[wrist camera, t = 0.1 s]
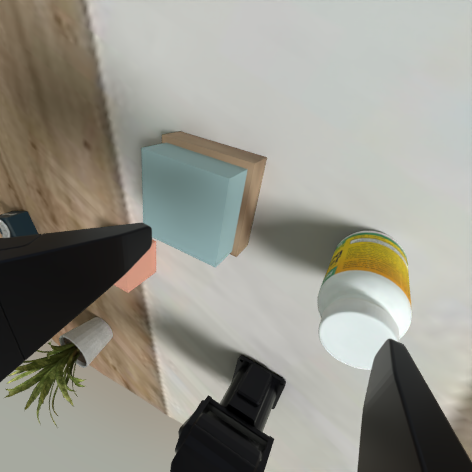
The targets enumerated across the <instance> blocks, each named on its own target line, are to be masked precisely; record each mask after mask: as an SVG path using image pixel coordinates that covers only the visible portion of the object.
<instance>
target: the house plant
mask: <svg viewBox="0 0 472 472" xmlns="http://www.w3.org/2000/svg"><path fill="white" fill-rule="evenodd" d="M112 337H113V333H112V330H111V328H110V327H109V325H108V324H107V323H106V322H105V321H104V320H103V319H101V318H99V317H95V318H93V319H91V320H89V321H87V322H85V323H84V324H82V325H80V326H78V327H76V328H74V329H73V330H71V331H69V332H67V333H65V334H63V335H61V336H60V338H59V341H60V344H61V346H53V345H51V343H48V344H49V345H51V347H52V349H53V351H50V352H49V351H45V352H44V351H39V350H37V351H38V352H42V353H43V352H44V353H48V354H47V357H44V358H41V359H36V360H32V361H24V362H23V363H29V362H32V363H30V364H27V365H23V366H19V367H17V368H16V369H15V370H18V371H16V372H14V373H12V374H10V375H14V374H18V373H21V372H24V371H28V372H25V373H23V374H21V375H18V376H17V377H15V378H13V379H12V380H10V381H9V382H8V383H10V382H13V381H16V380H18V379H20V378H22V377H24V376H27V375H28V374H31V373H33V372H35V371H37V370H40V369H41V368H44V369H42V370H41V371H40V372H39V373H37V374H36V375H35V376H33V377H32V378H30V379H29V380H27V381H25V382H24V383H22V384H20V385H18V386H16V387H15V388H14V389H6V390H8V391H10V392H9V395H8V396H6V397H10V396H13V395H15V394H17V393H19V392H22V391H24V390H26V389H28V388H30V387H31V386H33V385H34V384H36V383H37V382H39V381H40V382H39V383H38V384H37V386H36V387H35V389H34V390H33V392H32V394H31V396H30V398H29V400H28V402H27V404H26V407H25V410H26V409H27V408H28V407H29V406H30V405H31V403H32V402H33V401H34V400H35V399H36V397H37V396H38V395H39V393H40V392H41V394H40V397H39V404H38V407H37V418H38V414H39V409H40V406H41V404H42V403H43V402H44V399H45V397H46V396H47V395H48V393H49V390H50V388H51V386H52V384H53V382H55V380H56V381H57V384H58V386H59V388H60V390H61V392H62V394H63V397H65V398H66V399H67V400H68V401H69V402H70V403H71V404H72V405H73V403H72V400H71V398H70V397H69V395H68V392H67V390H69V391H74V390H71V389H69V388H68V386H67V383H68V381H69V378H70V379H71V380H72V383H73V382H74V383H75V385H77V386H79V387H84V386H83V385H80V384H79V382H82V381H84V380H82V379H78V378H75V377H74V372H73V377H72V368H73V365H74V363H75V365H76V364H78V365H79V366H81V367H83V368H85V367H87V366H88V365H89V364H90V363H91V361H92V360H93V359H94V358H95V357H96V356H97V355H98V353H99V352H100V351H101V350H102V349H103V348H104V347H105V345H106V344H107V343H108V342H109V341H110V340H111V338H112ZM59 352H60V353H59ZM53 354H54V355H53ZM50 355H51V356H50ZM66 364H67V366H66V368H65V370H64V372H63V369H64V367H65V365H66ZM69 367H70V368H69ZM74 370H75V366H74ZM64 373H65V374H64ZM66 373H67V377H66ZM10 375H8V376H10ZM63 375H64V377H63ZM70 375H71V376H70ZM65 378H66V380H65ZM53 385H54V384H53ZM58 386H57V388H56V390H55V393H54V396H53V400H52V408H53V410H54V407H53V405H54V398H55V394H56V392H57V389H58ZM52 388H53V386H52ZM51 392H52V390H51ZM76 396H77V395H76ZM50 397H51V393H50ZM49 402H50V400H49ZM49 404H50V403H49ZM49 409H50V405H49ZM54 412H55V411H54ZM55 414H56V413H55ZM50 415H51V414H50ZM56 415H57V414H56ZM57 416H58V415H57ZM51 417H52V416H51ZM38 420H39V418H38ZM52 420H53V418H52ZM53 422H54V421H53ZM54 423H55V422H54ZM55 425H56V424H55Z"/></svg>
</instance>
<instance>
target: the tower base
mask: <svg viewBox="0 0 472 472" xmlns="http://www.w3.org/2000/svg"><path fill="white" fill-rule="evenodd" d="M162 143H170V144H173V145H176V146H179V147H182V148H185V149H188V150H191V151H194V152H197V153H200V154H203V155H206V156H209V157H212V158H215V159H218V160H221V161H224V162H227V163H230V164H233V165H236V166H239V167H242V168H245V169H248V170H247V176H246V181H245V186H244V191H243V197H242V202H241V207H240V212H239V218H238V223H237V228H236V233H235V238H234V244H233V249H232V252H231V253H230V254H231V255H233V256H235V257H237V256H238V255H239V254H240V253H241V252H242V251H243V249H244V248H245V247H246V246H247V245H248V242H249V237H250V233H251V228H252V224H253V219H254V215H255V210H256V206H257V201H258V196H259V192H260V187H261V183H262V178H263V174H264V169H265V165H266V160H267V157H264V156H261V155H257V154H254V153H251V152H247V151H244V150H241V149H237V148H234V147H231V146H227V145H224V144H221V143H217V142H214V141H211V140H207V139H204V138H201V137H197V136H194V135H191V134H187V133H184V132H181V131H180V132H174V133H168V134H163V135H162Z"/></svg>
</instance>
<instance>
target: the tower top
mask: <svg viewBox="0 0 472 472" xmlns="http://www.w3.org/2000/svg"><path fill="white" fill-rule="evenodd" d="M141 151H142V190H143V223H144V224H147V225H149V226H150V227H151V228H152V237H153V238H155V239H157V240H159V241H161V242H164V243H166V244H168V245H170V246H172V247H174V248H176V249H178V250H180V251H182V252H184V253H186V254H188V255H191V256H193V257H195V258H197V259H199V260H201V261H203V262H205V263H207V264H209V265H211V266H213V267H216V266H217V265H218V264H220V263H221V262H222V261H223V260H224V259H225V258H226V257H227V256H228V255H229V254H230V253H231V252H232V249H233V244H234V238H235V233H236V228H237V223H238V218H239V212H240V207H241V202H242V197H243V191H244V186H245V181H246V176H247V170H248V169H245V168H242V167H239V166H236V165H233V164H230V163H227V162H224V161H221V160H218V159H215V158H212V157H209V156H206V155H203V154H200V153H197V152H194V151H191V150H188V149H185V148H182V147H179V146H176V145H173V144H170V143H162V144H157V145H153V146H148V147H143V148H141Z"/></svg>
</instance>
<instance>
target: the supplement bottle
mask: <svg viewBox="0 0 472 472" xmlns="http://www.w3.org/2000/svg"><path fill="white" fill-rule="evenodd" d="M318 310H319V313H320V315H321V322H320V326H319V338H320V341H321V343H322V345H323V346H324V348H325V349H326V350H327V352H328V353H329V354H330V355H332V356H333V357H334V358H335V359H337V360H339V361H340V362H342V363H344V364H346V365H349V366H351V367H355V368H359V369H366V370H371V369H372V364H373V360H374V357H375V355H376V354H377V352H378V351H379V349H380V348H381V347H382V345H383V344H384V343H385V341H386V340H387V339H393V340H395V341H397V342H399V339H400V338H401V337H402V336H403V335H404V334H405V333H406V331H407V330H408V328H409V326H410V323H411V318H412V309H411V298H410V288H409V275H408V262H407V257H406V254H405V252H404V250H403V248H402V247H401V246H400V244H399V243H398V242H397V241H395V240H394V239H393V238H391V237H390V236H388V235H386V234H383V233H380V232H376V231H360V232H356V233H353V234H351V235H349V236H347V237H346V238H344V239H343V240H342V241H341V242H340V243H339V244H338V246H337V247H336V250H335V252H334V255H333V257H332V260H331V262H330V265H329V268H328V270H327V273H326V275H325V278H324V280H323V283H322V285H321V288H320V291H319V294H318Z"/></svg>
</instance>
